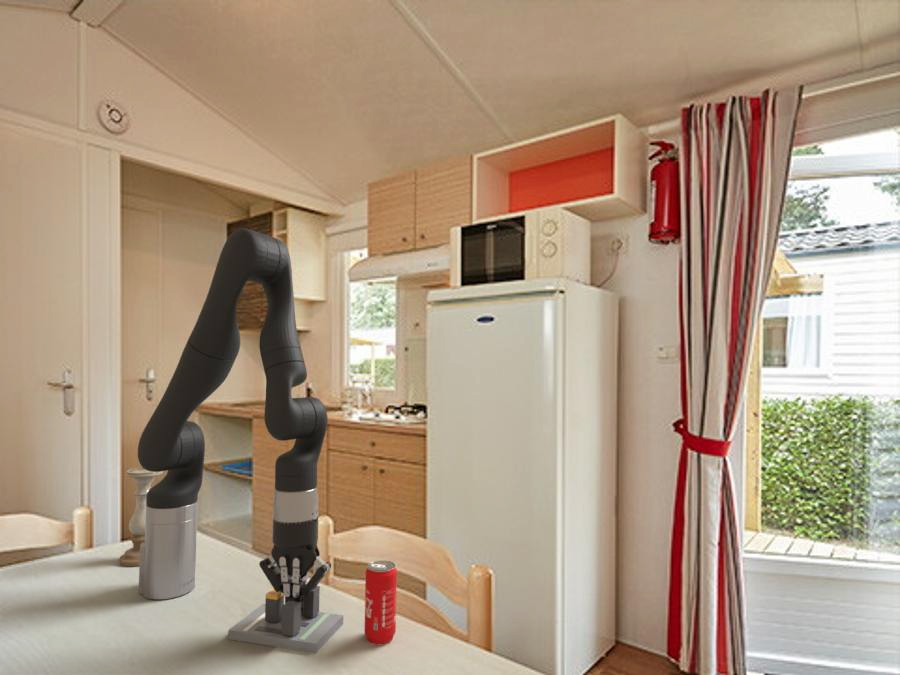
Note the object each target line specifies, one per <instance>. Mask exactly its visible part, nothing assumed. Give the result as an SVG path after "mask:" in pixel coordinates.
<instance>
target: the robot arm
mask: <svg viewBox="0 0 900 675" xmlns="http://www.w3.org/2000/svg"><path fill="white" fill-rule="evenodd" d="M292 270H293V269H292V262H291V256H290V252H289V249H288V247H287V245H286V244H285V242H283V241H282V240H281V239H279V238H277V237H274V236H271V235H268V234H266V233H265V234H264V233H261V232H258V231H255V230H252V229H248V228H245V227H244V228H243V227H242V228H238V229H236V230H234V231H233V232H232V233H231V234H230V235H229V236H228V237H227V239H226V241H225V243H224V244H223V247H222V250H221V251H220V254H219V257H218V261H217V264H216V265H215V270H214V272H213V273H214V274H213V277H212V280H211V282H210V287H209V290H208V293H207V296H206V297H205V300H204V303H203V305H202V308H201V311H200V312H199V314H198V318H197V320H196V322H195V324H194V326H193V329H192V331H191V333H190V334H189V337H188V339H187V341H186V344H185V346H184V348H183V351H182V352H181V355H180V358H179V361H178V364H177V366H176V367H175V370H174V372H173V374H172V377H171V379H170V380H169V383H168V385H167V387H166V389H165V391H164V393H163V395H162V397H161V399H160V402H159V403H158V404H157V406H156V408H155V410H154V412H153V414H152V415H151V417H150V418H149V420H148V421H147V423H146V425H145V427H144V429H143V430H142V433H141V435H140V438H139V442H138V446H137V458H138V461H139V464H140V466H141V468H142V467H143V468H144V469H146V470H148V471H151V472H159V471H163V472H165V471H167V473H166V474H165V475H164V477H163V478H162V479H160V481H159V482H158V483H156V484H155V485H154V486H151V489H150V490H149V491H148V492H147V497H146V524H145V542H144V543H142V544H141V545H140V566H138V567H139V570H138V571H139V572H138V573H139V575H138V594H141V595H143V597H145V598H146V599H148V600H149V599H150V600H167V599H174V598H177V597H181V596H184V595H186V594H189V593H190V592H191V591H192V590H194V588H195V586H196V567H197V566H196V562H197V533H198V532H197V530H198V529H197V528H198V526H197V525H198V498H199V497H198V496H199V492H200V489H201V487H202V484H203V475H204V474H203V473H204V464H205V455H206V454H205V452H206V444H205V442H206V440H205V436H204V431H203V430H202V428H201V427H200V425H198V423H196V422H195V421H190V420H188V419H189V418H190V416H192V414H193V413H194V411H196V409H197V408H198V407H199V406H200V405H201V404H203V403H204V402H205V401H206V400H207V399H208V398H209V397H210V396H211V395H212V394H214V393H215V391H216V390H217V389H218V388H220V386H221V385H222V384H223V383H224V382H225V381H226V379H227V378H228V376H229V374H230V372H231V370H232V368H233V366H234V363H235V362H236V359H237V357H238V355H239V352H240V348H241V334H240V328H239V327H240V326H239V323H238V316H237V310H238V309H237V308H238V304H239V300H240V298H241V294H242V291H243V289H244V287H245V285H247V282H251V283H256V284H261V286H262V288H263V291H264V294H265V298H266V303H267V308H266V314H265V318H264V321H263V324H262V327H261V330H260V333H259V352H260V353H259V354H260V358H261V362H262V367H263V372H264V375H265V402H264V416H263V417H264V423H265V424H264V425H265V427H266V430H267V431H268V433H269V435H270V436H271V437H272V438H274V439H275V440H278V441H292V440H295V442H294V444H293V447H292V448H291V449H290V450H288V451H286V452H284V453H282V454H281V455H278V457H277V458H276V460H275V465H274V466H275V467H274V494H273V495H274V496H273V502H272V544H273V547H272V548H271V552H270V555H269V556H266V557H265V558H264V559H262V560H261V561H260V562H259V563H258V564H259V567H260V569H261V570H262V572H263V573H264V575H265V577H266V578H267V580H268V581H269V583H270V585H271V586H272V589H274V590H275V591H276V592H279V591H280V592H282V593H283V594H284V604H285V603H287V602H288V601H296V602H301V614H302V613H303V611H304V595H308V594H309V593H310V592H311V591H312V590H314V589H315V587H316V586H319V584H320V583H321V581H322V580H323V578H324V577H325V576H326V574H327V573H328V571H330V570H331V569H332V563H331V562H330V561H324V560H323V559H322V558H321V555H320V554H321V553H320V550H319V547H318V540H319V513H320V508H319V495H318V463H319V458H320V455H321V451H322V447H323V444H324V441H325V440H324V439H325V436H326V432H327V427H328V420H329V418H328V412H327V408H326V406H325V404H324V403H323V401H321V400H320V399H319V398H318V397H313V396H311V397H310V396H306V397H303V396H302V397H292V389H293V388H295V387H298V386H300V385H302V384H303V383H304V382H305V381H306V379H307V377H308V372H307V367H306V364H305V358H304V355H303V350H302V347H301V342H300V338H299V334H298V328H297V322H296V312H295V297H294V285H293V283H294V282H293V271H292ZM312 568H313V573H314V574H312V576H311V578H310V579H309V580H308V578H309V573H310V571H311V569H312Z"/></svg>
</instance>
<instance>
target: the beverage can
mask: <svg viewBox="0 0 900 675" xmlns="http://www.w3.org/2000/svg"><path fill="white" fill-rule="evenodd" d="M366 567H367V568H366V570H365V586H364V587H365V589H364V591H365V594H364V595H365V596H364V597H365V599H364V635H365V638H366V641H367V642H368V643H369V644H371V645H375V646H381V645H382V646H383V645H386V644H389V643H391V642H392V641H393V639H394V637H395V634H396V629H397V626H396V624H397V584H398V583H397V578H398V571H397V570H398V569H397V568H396V564H395V563H394V562H392V561H390V560H376V561H372V562H370V563H368V564H367V566H366Z"/></svg>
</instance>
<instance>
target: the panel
mask: <svg viewBox="0 0 900 675" xmlns="http://www.w3.org/2000/svg"><path fill="white" fill-rule="evenodd" d="M281 620H282V618H281V619H280V620H279V621H278V622H277V623H275V622H268V621H265V603H262V604H261V605H260V606H258V607H257V608H256V609H254V610H253V611H251V612H250V613H249V614H247V615H246V616H245V617H244V618H241V619H240V621H238V622H237V623H236V624H234V625H233V626H232V627H230V628H229V629H228V630H227V631H228V633H227V639H228V640H230V641H231V640H232V641H237V642H242V643H250V644H256V645H260V646H261V645H262V646H267V647H268V646H269V647H274V648H281V649H287V650H295V651H300V652H305V653H310V654H317V653H318V652H319V650H321V649H322V648H323V647H324V646H325V645H326V643H327V642H328V641H329V640H330V639H331V638H332V637H333V636H334V635H335V633H336V632H337V631H338V630H339V629H340V628H341V627H342V626H343V625H344V614H337V613H329V612H323V611H319V613H318V614H316V615H315V616H314V617H313V618H311V617H304V616H302V614H301V618H300V630H299V631H298V632H297V633H296V634H295V635H294V636H288V635H281Z"/></svg>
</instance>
